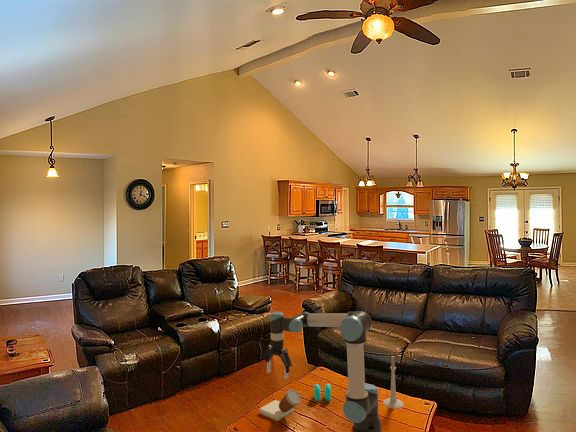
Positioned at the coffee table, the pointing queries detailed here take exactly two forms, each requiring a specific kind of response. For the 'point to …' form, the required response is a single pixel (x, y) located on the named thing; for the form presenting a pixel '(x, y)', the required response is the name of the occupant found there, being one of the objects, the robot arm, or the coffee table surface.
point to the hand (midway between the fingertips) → (277, 375)
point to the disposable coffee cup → (289, 400)
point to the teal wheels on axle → (318, 392)
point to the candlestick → (393, 390)
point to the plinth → (274, 411)
